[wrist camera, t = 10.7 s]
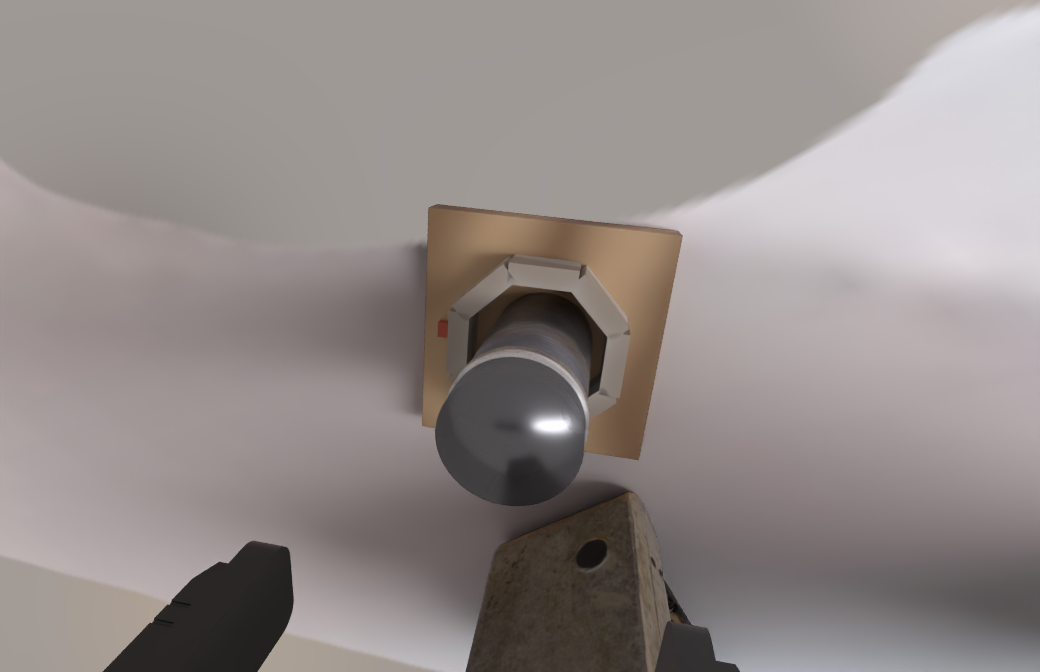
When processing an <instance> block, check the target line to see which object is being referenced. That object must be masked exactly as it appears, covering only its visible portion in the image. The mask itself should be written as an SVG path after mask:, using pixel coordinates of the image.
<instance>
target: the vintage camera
mask: <svg viewBox="0 0 1040 672" xmlns="http://www.w3.org/2000/svg"><path fill="white" fill-rule="evenodd" d="M668 621H672V622H677V623H683V624H688V625H691V623H690V622H689V620H688V618H687V617H686V615H685V613H684V612H683V610H682V608H681V607H680V605H679V603H678V602H677V600H676V598H675V597H674V595H673V593H672V592H671V590H670V588H669V587H668V585H667V584H666V582H665V581H664V579H663V574H662V568H661V561H660V553H659V546H658V541H657V538H656V535H655V532H654V530H653V527H652V524H651V521H650V518H649V515H648V513H647V511H646V509H645V507H644V505H643V503H642V502H641V500H640V499H639V498H638V496H637V495H636V494H635V493H631V492H627V493H625V494H622V495H620V496H618V497H616V498H614V499H612V500H609V501H607V502H603V503H600V504H598V505H596V506H593V507H591V508H589V509H586V510H584V511H581V512H579V513H576V514H574V515H571V516H569V517H566V518H564V519H562V520H559V521H557V522H555V523H552V524H550V525H547V526H545V527H542V528H540V529H538V530H535V531H533V532H530V533H528V534H525V535H523V536H521V537H519V538H516V539H514V540H512V541H509V542H507V543H504V544H502V545H500V546H499V547H498V548H497V550H496V551H495V552H494V556H493V559H492V563H491V567H490V571H489V575H488V578H487V582H486V587H485V591H484V596H483V601H482V605H481V609H480V613H479V617H478V622H477V626H476V630H475V635H474V639H473V643H472V647H471V651H470V655H469V660H468V664H467V668H466V672H655V668H656V664H657V659H658V655H659V651H660V647H661V643H662V639H663V635H664V630H665V627H666V624H667V622H668Z"/></svg>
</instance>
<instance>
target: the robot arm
mask: <svg viewBox="0 0 1040 672" xmlns="http://www.w3.org/2000/svg"><path fill="white" fill-rule="evenodd" d="M293 602H294V599H293V586H292V573H291V560H290V552H289V549H288V548H287V547H284V546H278V545H273V544H268V543H262V542H257V541H251V542H249V543H247V544H246V545H245V546H244V547H243V548H242V549H241V550H240V551H239V552H238V554H237V555H236V556H235V557H234V558H233V559H232V560H231V561H230V562H229V563H228V564H227V563H222V562H218V563H217V564H215V565H214V566H212V567H210V568H209V569H207V570H206V571H204V572H202V573H201V574H199V575H198V576H196V577H194V578H193V579H192V580H191V581H190V582H189V583H188V584H187V585H186V586H185V587H184V588H183V589H182V590H181V591H180V592H179V593H178V594H177V595H176V596H175V597H174V598H173V599H172V602H171V604H170V605H167V606H166V607H165V608H164V609H163V610H162V611H161V612H160V613H159V614H158V615H157V616H156V617H155V618H154V621H153V623H149V624H148V625H147V626H146V628H145V629H144V630H143V631H142V632H141V633H140V634H139V635H138V636H137V637H136V638H135V639H134V640H133V641H132V642H131V643H130V644H129V645H128V646H127V647H126V648H125V649H124V650H123V651H122V652H121V654H119V656H118V657H117V658H116V659H115V660H114V661H113V662H112V663H111V664H110V665H109V666H108V667H107V668H106V669H105V670H104V671H103V672H257V671H258V670H259V668H260V667H261V665H262V664H263V662H264V661H265V659H266V658H267V656H268V655H269V653H270V652H271V650H272V649H273V647H274V646H275V644H276V643H277V641H278V640H279V638H280V637H281V636H282V634H283V632H284V631H285V629H286V627H287V625H288V622H289V620H290V617H291V614H292V610H293ZM655 672H740V671H739V669H738V668H737V666H736V665H735V664H730V663H725V662H720V661H716V660H715V655H714V651H713V646H712V641H711V637H710V633H709V631H708V629H707V628H704V627H698V626H693V625H688V624H683V623H677V622H672V621H668V622H667V624H666V627H665V630H664V635H663V639H662V643H661V647H660V651H659V655H658V659H657V664H656V668H655Z"/></svg>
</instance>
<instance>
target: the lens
mask: <svg viewBox="0 0 1040 672" xmlns="http://www.w3.org/2000/svg"><path fill="white" fill-rule="evenodd" d="M592 343H593V339H592V331H591V327H590V325H589V322H588V320H587V318H586V317H585V315H584V314H583V312H582V311H581V310H580V309H579V308H578V307H577V306H576V305H575V304H574V303H572V302H571V301H569V300H568V299H566V298H564V297H562V296H559V295H556V294H551V293H542V292H541V293H532V294H527V295H525V296H522V297H520V298H518V299H516V300H515V301H513V302H512V303H510V304H509V305H508V306H507V307H506V308H505V309H504V311H503V312H502V314H501V315H500V317H499V318H498V320H497V321H496V323H495V324H494V326H493V328H492V329H491V331H490V332H489V334H488V335H487V337H486V338H485V340H484V342H483V343H482V345H481V346H480V348H479V349H478V351H477V352H476V354H475V356H474V357H473V359H472V360H471V361H470V362H469V363H468V364H467V365H466V366H465V367H464V368H463V370H462V371H461V372H460V374H459V375H458V377H457V378H456V380H455V381H454V383H453V385H452V386H451V388H450V390H449V393H448V395H447V399H446V401H445V402H444V404H443V405H442V407H441V409H440V412H439V414H438V418H437V421H436V429H435V437H436V445H437V449H438V452H439V455H440V458H441V460H442V462H443V464H444V466H445V467H446V469H447V470H448V472H449V473H450V474H451V476H452V477H453V478H454V479H455V480H456V481H457V482H458V483H459V484H460V485H461V486H463V487H464V488H465V489H466V490H468V491H469V492H471V493H472V494H474V495H476V496H478V497H480V498H482V499H484V500H487V501H490V502H493V503H497V504H501V505H508V506H526V505H533V504H537V503H541V502H543V501H546V500H548V499H550V498H552V497H554V496H556V495H557V494H559V493H560V492H562V491H563V490H564V489H565V488H566V487H567V486H568V485H569V484H570V483H571V482H572V481H573V479H574V478H575V476H576V475H577V473H578V471H579V469H580V466H581V464H582V460H583V455H584V446H585V444H586V441H587V437H588V429H589V415H590V414H589V404H588V393H589V381H590V368H591V356H592Z"/></svg>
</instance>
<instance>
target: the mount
mask: <svg viewBox="0 0 1040 672" xmlns="http://www.w3.org/2000/svg"><path fill="white" fill-rule="evenodd" d="M682 237H683V236H682V235H681V234H680V232H679V231H673V230H664V229H655V228H646V227H637V226H628V225H619V224H610V223H601V222H592V221H583V220H574V219H565V218H556V217H547V216H537V215H529V214H519V213H511V212H502V211H493V210H484V209H475V208H466V207H457V206H448V205H439V204H438V205H434V206H431V207H429V210H428V244H427V278H426V311H425V345H424V379H423V412H422V426H426V427H432V428H436V421H437V418H438V414H439V412H440V409H441V407H442V405H443V404H444V402H445V401H446V399H447V395H448V393H449V390H450V388H451V386H452V385H453V383H454V381H455V380H456V378H457V377H458V375H459V374H460V372H461V371H462V370H463V368H464V367H465V366H466V365H467V364H468V363H469V362H470V361H471V360H472V359H473V357H474V356H475V354H476V352H477V351H478V349H479V348H480V346H481V345H482V343H483V342H484V340H485V338H486V337H487V335H488V334H489V332H490V331H491V329H492V328H493V326H494V324H495V323H496V321H497V320H498V318H499V317H500V315H501V314H502V312H503V311H504V309H505V308H506V307H507V306H508V305H509V304H510V303H512V302H513V301H515V300H516V299H518V298H520V297H522V296H525V295H527V294H532V293H541V292H542V293H551V294H556V295H559V296H562V297H564V298H566V299H568V300H569V301H571V302H572V303H574V304H575V305H576V306H577V307H578V308H579V309H580V310H581V311H582V312H583V314H584V315H585V317H586V318H587V320H588V322H589V325H590V327H591V331H592V339H593V343H592V356H591V368H590V381H589V393H588V404H589V414H590V415H589V429H588V437H587V441H586V444H585V446H584V452H591V453H597V454H603V455H610V456H616V457H622V458H629V459H635V460H639V456H640V451H641V446H642V441H643V436H644V430H645V425H646V420H647V415H648V410H649V405H650V400H651V395H652V390H653V385H654V379H655V374H656V369H657V364H658V359H659V354H660V349H661V344H662V339H663V334H664V328H665V323H666V318H667V313H668V308H669V303H670V298H671V293H672V288H673V283H674V277H675V272H676V267H677V262H678V257H679V252H680V247H681V242H682Z"/></svg>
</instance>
